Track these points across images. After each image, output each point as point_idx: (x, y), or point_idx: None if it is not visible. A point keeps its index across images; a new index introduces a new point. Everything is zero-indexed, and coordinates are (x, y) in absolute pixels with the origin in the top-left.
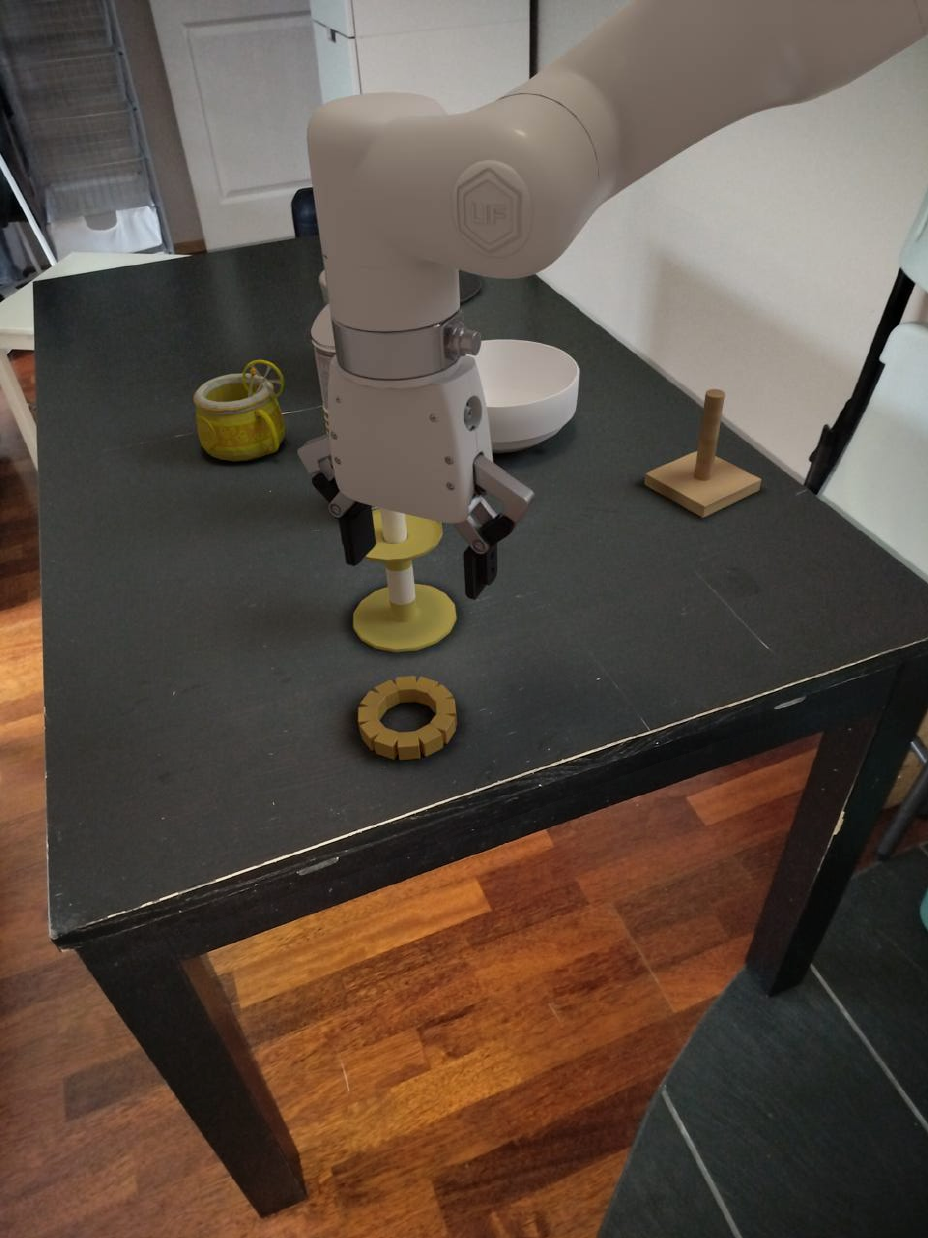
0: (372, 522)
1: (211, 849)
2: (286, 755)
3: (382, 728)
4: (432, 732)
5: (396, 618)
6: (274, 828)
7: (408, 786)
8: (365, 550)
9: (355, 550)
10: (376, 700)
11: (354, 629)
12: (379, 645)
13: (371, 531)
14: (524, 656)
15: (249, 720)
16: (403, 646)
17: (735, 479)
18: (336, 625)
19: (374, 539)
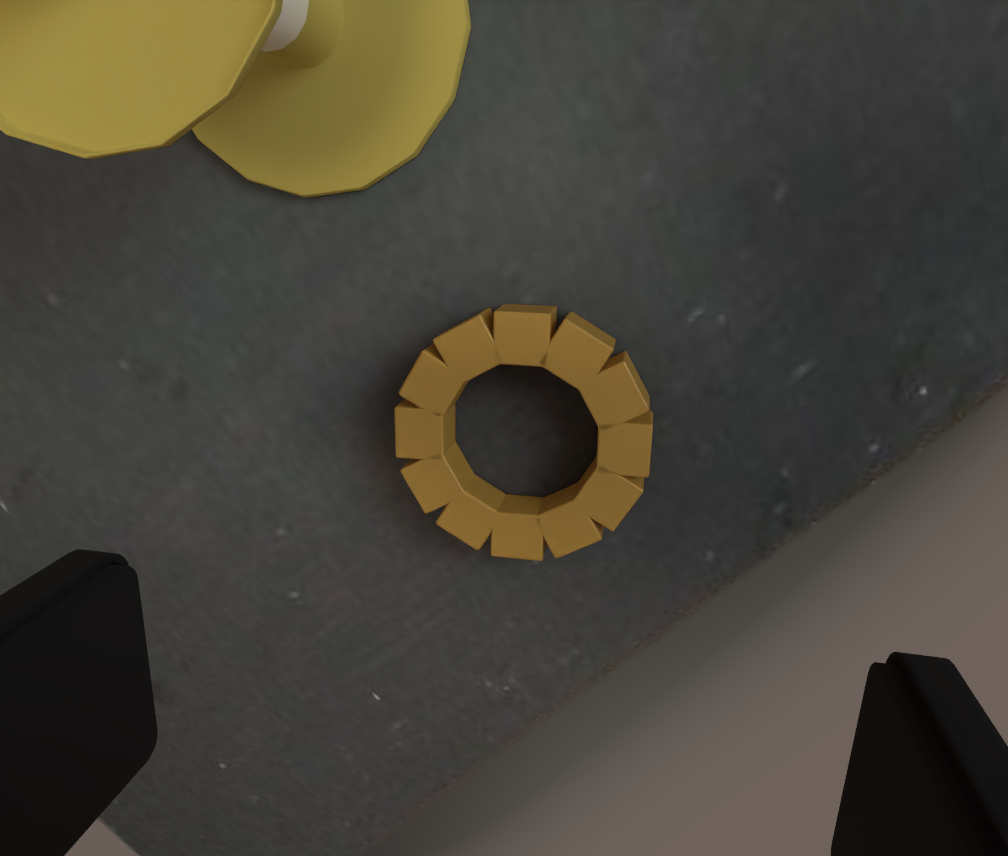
0: (4, 663)
1: (339, 800)
2: (324, 589)
3: (491, 517)
4: (617, 493)
5: (293, 63)
6: (412, 742)
7: (612, 594)
8: (125, 681)
9: (95, 802)
10: (429, 435)
11: (208, 147)
12: (311, 190)
13: (54, 653)
14: (748, 38)
15: (192, 527)
16: (375, 167)
17: None
18: None
19: (104, 596)
